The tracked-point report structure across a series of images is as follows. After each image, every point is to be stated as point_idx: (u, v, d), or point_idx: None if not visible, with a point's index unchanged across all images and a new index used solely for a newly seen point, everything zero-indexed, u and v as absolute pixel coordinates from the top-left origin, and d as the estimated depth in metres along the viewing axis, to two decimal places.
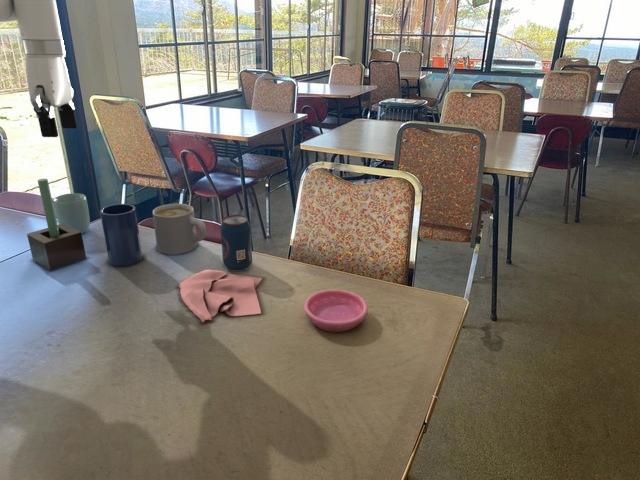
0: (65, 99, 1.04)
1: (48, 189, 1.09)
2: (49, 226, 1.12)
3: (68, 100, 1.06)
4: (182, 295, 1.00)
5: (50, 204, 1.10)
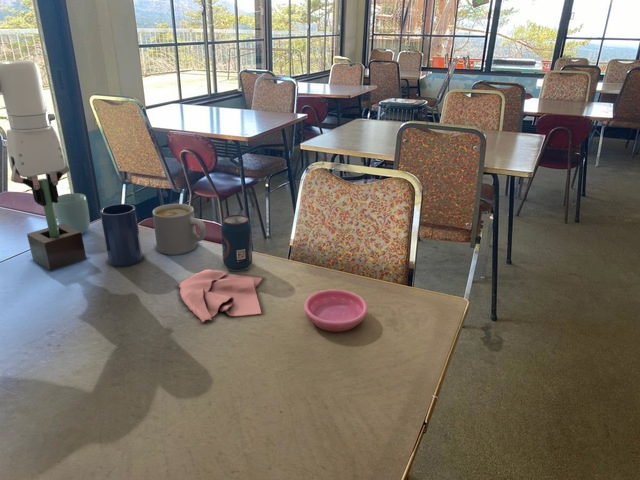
0: (46, 169, 1.06)
1: (48, 189, 1.09)
2: (49, 226, 1.12)
3: (54, 169, 1.08)
4: (182, 295, 1.00)
5: (50, 204, 1.10)
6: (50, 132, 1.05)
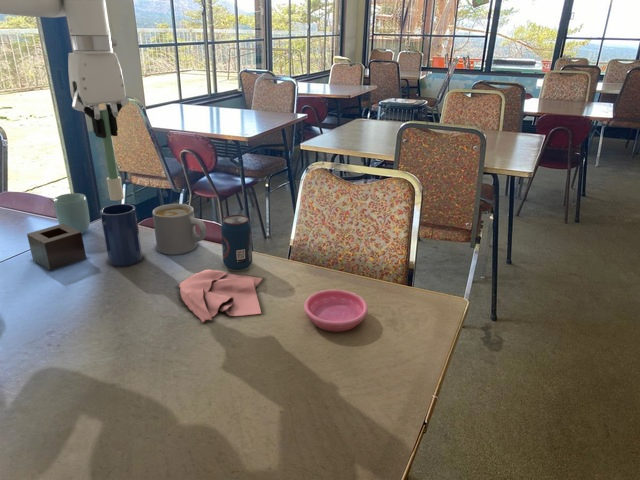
0: (108, 97, 1.01)
1: (108, 120, 1.03)
2: (108, 161, 1.06)
3: (115, 98, 1.02)
4: (182, 295, 1.00)
5: (110, 136, 1.04)
6: (112, 57, 0.99)
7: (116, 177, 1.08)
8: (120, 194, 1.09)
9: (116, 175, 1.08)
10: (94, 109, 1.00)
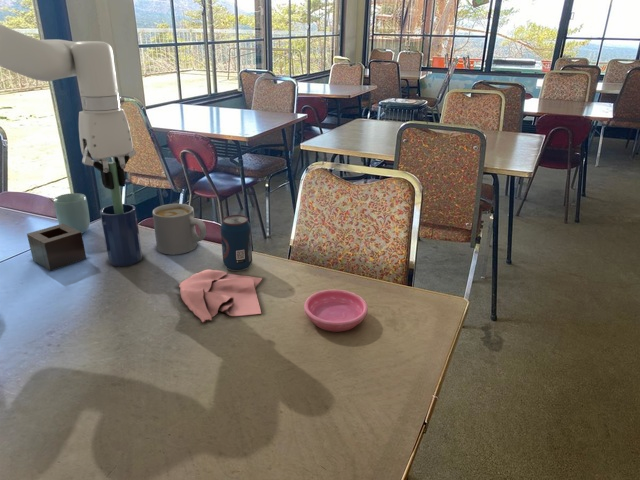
0: (116, 151, 1.05)
1: (116, 172, 1.08)
2: (116, 210, 1.11)
3: (123, 152, 1.07)
4: (182, 295, 1.00)
5: (118, 187, 1.09)
6: (120, 114, 1.04)
7: None
8: None
9: None
10: (103, 163, 1.05)
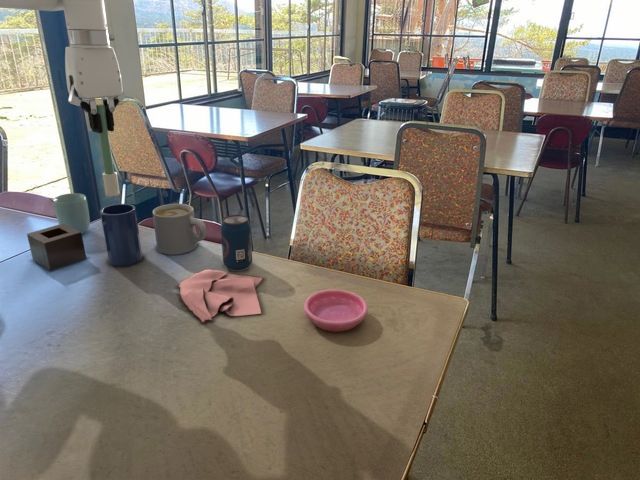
0: (105, 92, 1.00)
1: (105, 115, 1.03)
2: (104, 156, 1.06)
3: (112, 93, 1.02)
4: (182, 295, 1.00)
5: (106, 132, 1.04)
6: (110, 52, 0.99)
7: (112, 173, 1.08)
8: (116, 190, 1.09)
9: (112, 171, 1.08)
10: (91, 104, 0.99)
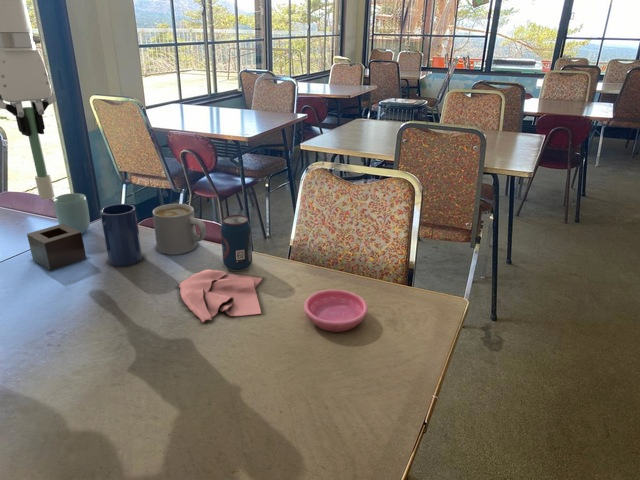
0: (31, 95, 1.00)
1: (33, 118, 1.02)
2: (35, 159, 1.05)
3: (39, 96, 1.01)
4: (182, 295, 1.00)
5: (36, 134, 1.04)
6: (35, 54, 0.98)
7: (45, 175, 1.07)
8: (49, 193, 1.09)
9: (45, 173, 1.07)
10: (17, 107, 0.99)
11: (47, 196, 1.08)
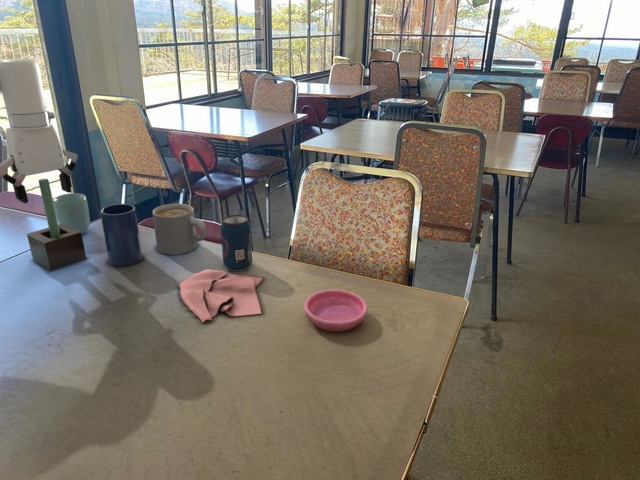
0: (46, 167, 1.06)
1: (49, 189, 1.09)
2: (50, 226, 1.12)
3: (53, 168, 1.07)
4: (182, 295, 1.00)
5: (51, 204, 1.10)
6: (50, 130, 1.05)
7: None
8: None
9: None
10: (19, 176, 1.03)
11: None
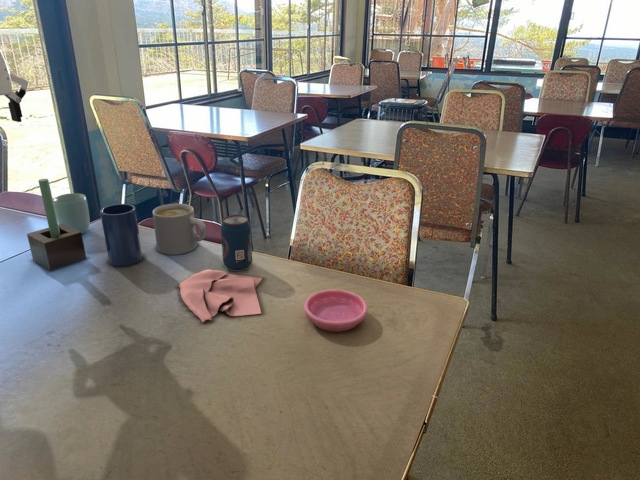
0: None
1: (49, 189, 1.09)
2: (50, 226, 1.12)
3: (0, 92, 1.00)
4: (182, 295, 1.00)
5: (51, 204, 1.10)
6: None
7: None
8: None
9: None
10: None
11: None
